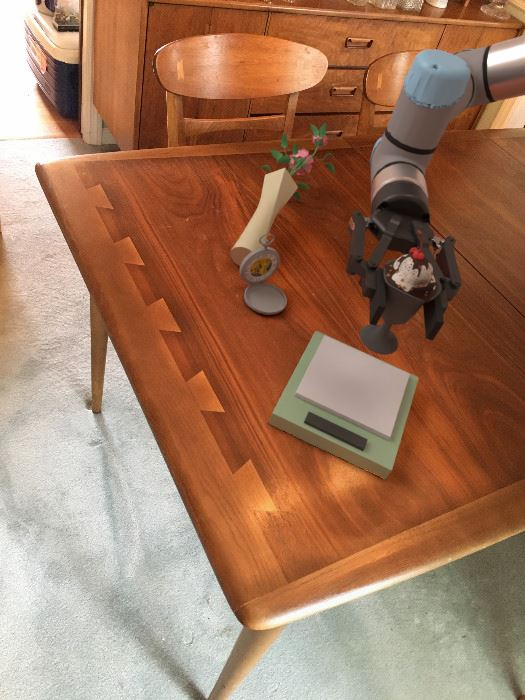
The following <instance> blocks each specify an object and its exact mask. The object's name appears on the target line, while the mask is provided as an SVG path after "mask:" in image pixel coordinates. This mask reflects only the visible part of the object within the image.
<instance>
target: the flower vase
mask: <svg viewBox="0 0 525 700" xmlns="http://www.w3.org/2000/svg"><path fill="white" fill-rule="evenodd" d="M310 127H311V131H312V134H313V135H311V138H312V139H311V141H312V144H314V146H315V150H314V152H313V154H309V153H310V150H307V149H305V148H303V147H302V148H301V149H300V148H299V144H298V143H297V142H295V143H294V144H293V146H292V150H291V154H287V152H286V150H284V152H285V153H284V154H285V155H284V156H283V153H282V152H279V151H278V150H275V149H269V151H270V153H271V155H272V156H273V158H274V159H276V162H275V163H278V164H280V165H281V164H288V165H289V166H288V168H289V169H288V170H287V168H286V167H283V168H280V169H278V170H274V171H272V169H271V167H270V165H268V164H263V165H262V166H260V168H261V169H262V170H264V171H267V172H269V173H267V174H265V175H264V179H263V184H262V190H261V195H260V199H259V202H258V205H257V208H256V209H255V211H254V213H253V215H252V217H250V220H249V221H248V223H247V225H246V227H245V228H244V230H243V232H242V233H241V235H240V236H239V238H238V239H237V240H236V242H235V244H234V245H233V246H232V248H231V249H230V252H229V253H230V254H229V257H230V258H231V260H232V262H233V263H234V264H236V265H237V266H239V267H240V265H241V263H242V261H243V259H244V258H245V257H246V256H247V255H248V254H249V253H251V252H252V251H254V250H256V249H258V248H261V247H264V246H263V245H262V244H260V242H259V239H260V237H261V236H263V235H264V234H270V233H271V229H272V227H273V224H274V222H275V220H276V217H277V216H278V214H279V213H280V212H281V211H282V209H283V208H284V207H285V206H286V204H287V203H288V202H289V200H290V199H291V198H292V196H293V197H294V198H295V199H296V200H298V201H299V202H301V199H302V196H301V194H300V192H299V191H297V190H298V189H302V190H305V191H311V188H310V187H309V186H308V184H306V183H304V182H301V181H300V182H298V184H297V183H296V181H295V180H294V178H293V177H292V176H293V175H294V174H296V175H297V176H299V175H303V176H305V171H306V172H307V173H308V174H311V171H312V168H313V163H314V158H315V159H316V160H317V161H318V162H320V163H322V164H324V167H326V168H327V169H328V170H329V171H330V172H332V173H333V174H337V173H336V169H335V167H334V165H333V164H332V162H330V161H329V162H327V163H326V162H323V160H324V159H325V158H328V157H334V156H335V155H334V154H333V153H327V154H325V155H324V157H323V159H318V158H317V157H314V156H315V154H316V153H317V151H318V148H324V147H327V144H328V143H329V142H328V140H329V139H328V136H327V135H326V133H327V129H328V128H327V123H326V122H325V123H324V124H322V125H321V126H320V128H319V129H318V127H317V126H315V125H313V124H312V123H311V124H310ZM280 147H282V148H284V149H286V148H287V147H289V140H288V136H287V135H286V134H285V132H283V133H282V135H281V137H280ZM268 237H269V235H266V236H264V237H262V239H261V242H262V243H263V242H265V241H266V240H268Z"/></svg>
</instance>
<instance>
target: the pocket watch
mask: <svg viewBox="0 0 525 700" xmlns="http://www.w3.org/2000/svg"><path fill="white" fill-rule="evenodd" d="M266 235H268V236H270V237H272V239H271V241H269V239H267V240H266V241H265V242H263V243H262V242H261V239H262V237H264V236H266ZM274 241H275V235H273V233H269V234H264V235H263V236H261V237H260V239H259V242H260V244H262V245H263V246H264V247H261V248H258V249H256V250H254V251H252V252H251V253H249V254H248V255H247V256H246V257H245V258H244V259H243V261H242V263H241V265H240V266H239V276H240V278H241V279H242V280H243V281H244V282H245V283H247V284H249V285H248V286H247V287H246V288H245V289H244V294H243V299H244V302H245V304H246V305H247V307H249V308H250V309H251V310H252V311H254V312H256V313H258V314H262V315H266V316H267V315H268V316H270V315H277V314H279V313H281V312H283V311H284V309H285V308H286V306H287V304H288V299H287V296H286V294H285V292H284V291H283V290H282V289H280V287H278V286H276V285H274V284H272V283H269V282H265V281H266V280H268V279H269V278H271V277H272V276H273V275H274V274H275V273H276V272H277V270H278V269H279V267H280V264H281V256H280V254H279V251H277V250H276V249H275V248H273V247H271V246H270V245H271V244H272V243H273V242H274ZM269 246H270V247H269Z"/></svg>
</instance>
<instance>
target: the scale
mask: <svg viewBox="0 0 525 700" xmlns="http://www.w3.org/2000/svg"><path fill="white" fill-rule="evenodd" d="M419 378H420V377H419V376H417V375H414V374H412V373H411V372H408V371H406V370H404V369H401V368H399V367H397V366H395V365H394V364H391V363H388V362H386V361H384V360H382V359H380V358H377V357H375V356H373V355H371V354H369V353H367V352H364V351H362V350H360V349H358V348H355V347H353V346H351V345H349V344H346V343H345V342H342V341H340V340H338V339H336V338H334V337H331V336H329V335H327V334H325V333H323V332H321V331H318V330H315V331H314V333H313V334H312V336H311V339H310V340H309V342H308V344H307V346H306V348H305V349H304V352H303V354H302V355H301V357H300V358H299V361H298V363H297V365H296V367H295V369H294V370H293V373H292V375H291V376H290V378H289V380H288V382H287V383H286V386H285V388H284V389H283V391H282V393H281V395H280V396H279V399H278V401H277V403H276V405H275V406H274V408H273V410H272V413H271V415H270V417H269V420H268V423H267V424H268V425H271V426H272V427H275V428H276V429H278V430H280V431H282V432H284V431H285V433H286V432H287V433H286V434H289V435H291V434H292V435H291V436H293V437H295V436H296V437H295V438H297V439H299V440H301V439H302V440H301V441H303V442H305V443H307V444H309V445H311V446H313V447H315V446H316V448H317V447H318V448H317V449H319V450H322V451H324V450H325V451H324V452H326V451H327V452H326V453H328V452H329V453H328V454H330V453H331V454H330V455H332V454H333V455H332V456H334V455H335V456H334V457H336V456H337V457H336V458H338V457H340V458H342V459H344V460H346V461H348V462H349V463H348V462H347V463H348V464H351V463H352V464H351V465H353V464H354V465H353V466H355V467H357V466H358V467H357V468H359V467H360V468H359V469H361V468H363V469H365V470H368V471H370V472H372V473H375V474H377V475H379V476H380V477H383V478H384V479H385V480H387V478H388V477H389V475H390V474H391V473H392V471H393V468H394V465H395V462H396V458H397V455H398V452H399V448H400V445H401V442H402V437H403V435H404V431H405V427H406V424H407V422H408V421H407V420H408V417H409V414H410V410H411V407H412V403H413V400H414V396H415V393H416V390H417V386H418V382H419ZM340 458H339V459H340ZM342 459H341V460H342ZM344 460H343V461H344ZM346 461H345V462H346ZM363 469H362V470H363ZM365 470H364V471H365ZM384 479H383V480H384Z"/></svg>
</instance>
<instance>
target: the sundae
mask: <svg viewBox="0 0 525 700" xmlns="http://www.w3.org/2000/svg"><path fill="white" fill-rule="evenodd" d="M417 233H418V235H419V238H420V245H419V246H418V247H417V248H411V249H410V251H409V254H406V255H405V254H401V255H400V256H399V257H398V258H397V259H390V260H388V261H387V262H386V263H385V264H383V265H382V268H383V269H384V279H385V301H386V308H385V310H384V312H383V314H382V316H381V318H382V319H383V321H382V323H381V325H380V324H377V325H376V326H375V325H371V324H366V325H364V326H363V327H362V328H361V329H360V331H359V339H360V341H361V342H362V344H363V345H364V346H365V347H366V348H367V349H368V350H369V351H371V352H373V353H375V354H378V355H386V356H387V355H392V354H393V353H395V352H397V350H398V349H399V339H398V337H397V336H396V334H395V333H394V332H392V331H391V328H392V327H393V325H394V326H399V325H405V324H407V323H408V322H409V321H410V320H412V319H413V317H414V316H416V315H417V313H418V312H419V311H420V309H421V308H423V304H424V303H425V302H427V303H428V302H429V301H431V300H433V299H434V298H436V297H437V296H438V295H439V294H440V292H441V290H442V286H441V283H440V282H439V280H438V279H437V278H436V276H435V275H434V274H433V268H432V265H431V263H430V261H429V260H428V259H427V258H426V257H424V254H423V253H422V252H421V249H422V243H423V240H422V236H421V234H422V232H420V230H417ZM420 246H421V247H420ZM419 248H420V250H419Z"/></svg>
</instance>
